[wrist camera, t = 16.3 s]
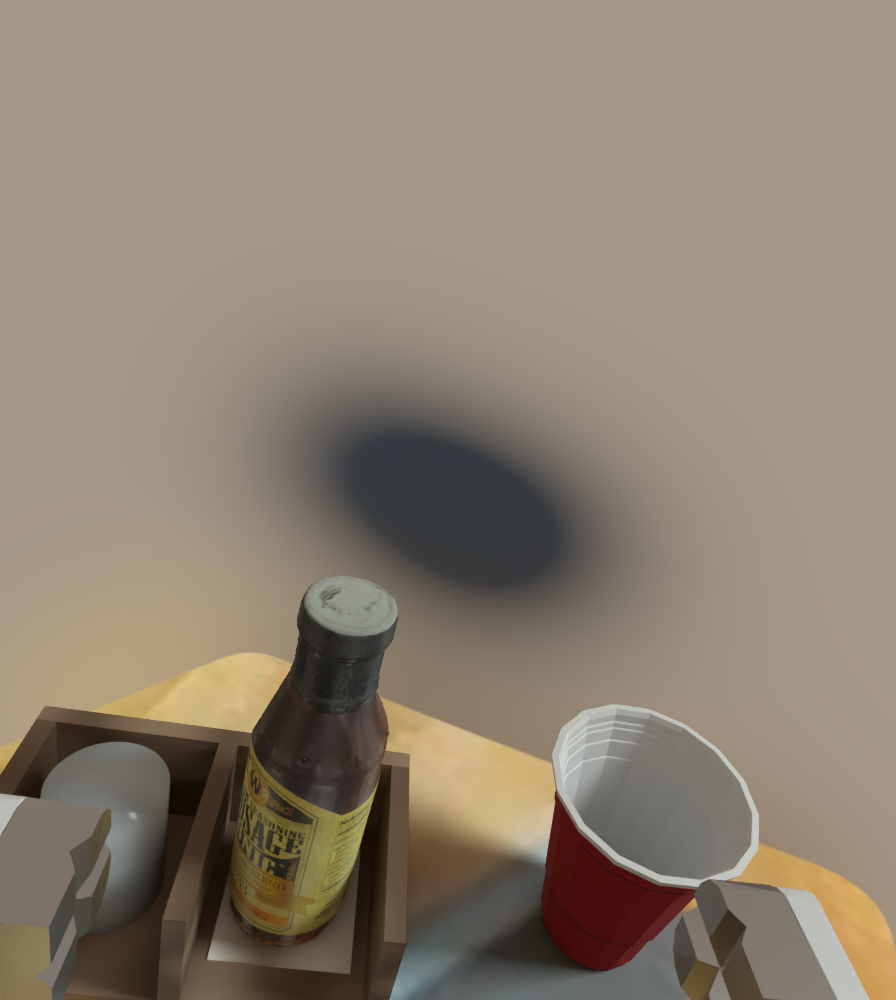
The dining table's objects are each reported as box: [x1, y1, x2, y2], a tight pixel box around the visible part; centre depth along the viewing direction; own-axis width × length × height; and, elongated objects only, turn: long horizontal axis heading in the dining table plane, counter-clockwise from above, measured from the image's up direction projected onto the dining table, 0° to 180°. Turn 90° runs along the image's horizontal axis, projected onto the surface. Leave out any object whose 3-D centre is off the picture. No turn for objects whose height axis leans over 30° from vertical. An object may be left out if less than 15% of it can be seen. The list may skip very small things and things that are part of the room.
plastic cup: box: [541, 704, 759, 971], centre depth 40 cm, size 11×11×12 cm
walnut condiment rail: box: [0, 706, 410, 1000], centre depth 38 cm, size 20×11×7 cm, turn 92°
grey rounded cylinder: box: [40, 742, 170, 935], centre depth 37 cm, size 6×6×7 cm
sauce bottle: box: [228, 576, 398, 947], centre depth 35 cm, size 7×6×20 cm
